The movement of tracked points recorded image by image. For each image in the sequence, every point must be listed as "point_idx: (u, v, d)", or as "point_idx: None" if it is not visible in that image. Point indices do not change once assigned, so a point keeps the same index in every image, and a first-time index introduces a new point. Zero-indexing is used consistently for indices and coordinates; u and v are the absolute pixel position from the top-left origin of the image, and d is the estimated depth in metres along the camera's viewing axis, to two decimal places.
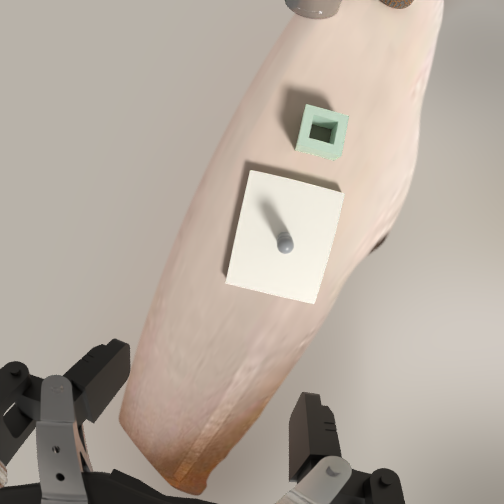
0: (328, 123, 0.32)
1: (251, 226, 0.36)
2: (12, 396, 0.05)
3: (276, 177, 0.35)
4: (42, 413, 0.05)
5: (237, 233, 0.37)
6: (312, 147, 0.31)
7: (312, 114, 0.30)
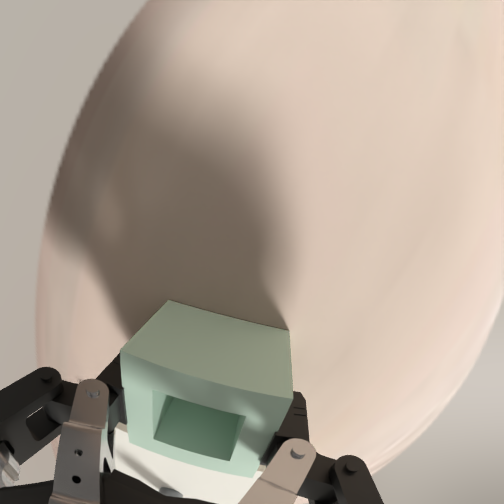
0: None
1: (118, 469, 0.14)
2: (39, 402, 0.05)
3: None
4: (72, 415, 0.06)
5: None
6: (169, 455, 0.09)
7: (148, 387, 0.08)
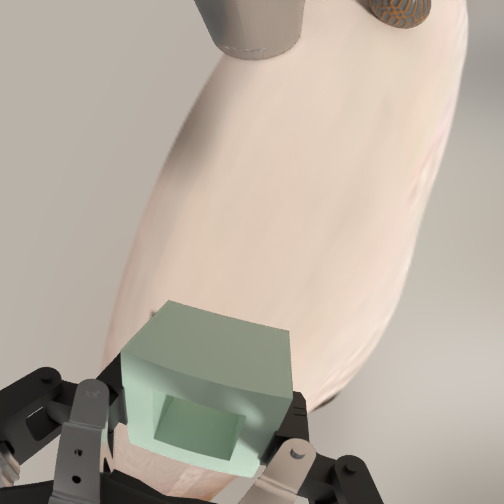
0: None
1: None
2: (39, 402, 0.05)
3: None
4: (72, 414, 0.06)
5: None
6: (169, 455, 0.09)
7: (148, 387, 0.08)
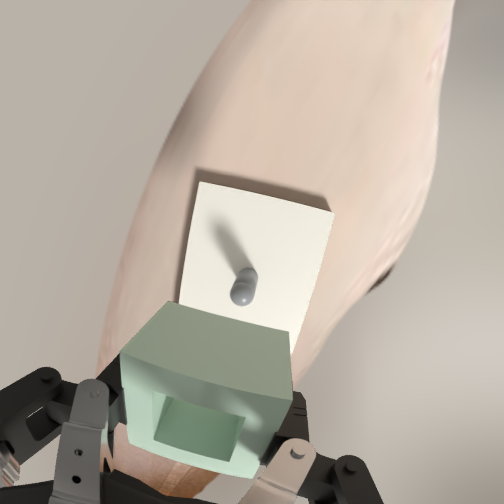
0: None
1: (203, 259, 0.26)
2: (39, 402, 0.05)
3: (235, 191, 0.25)
4: (72, 414, 0.06)
5: (185, 268, 0.27)
6: (168, 456, 0.09)
7: (148, 389, 0.08)
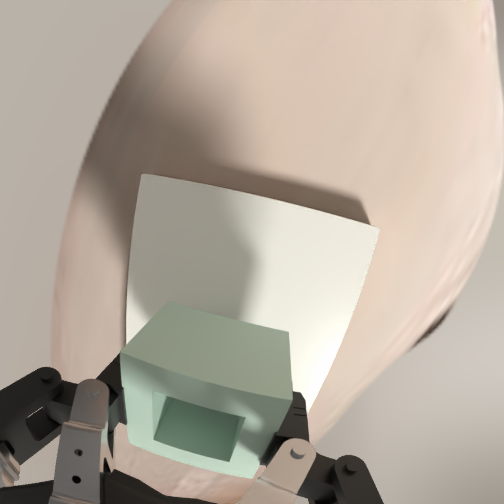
0: None
1: (153, 305, 0.15)
2: (39, 402, 0.05)
3: (201, 188, 0.13)
4: (72, 415, 0.06)
5: (129, 316, 0.15)
6: (169, 456, 0.09)
7: (148, 389, 0.08)
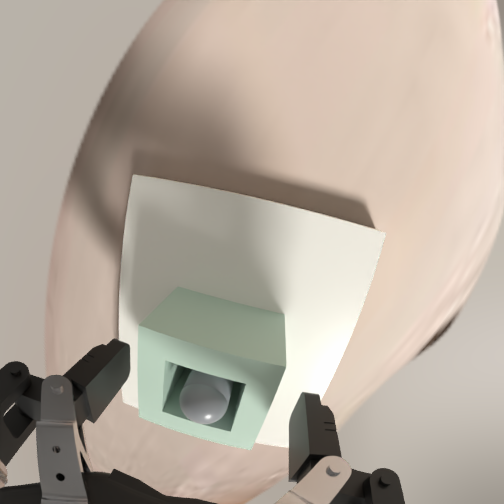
0: None
1: (145, 313, 0.14)
2: (12, 396, 0.05)
3: (195, 190, 0.12)
4: (42, 413, 0.05)
5: (121, 324, 0.14)
6: (175, 428, 0.10)
7: (161, 359, 0.09)
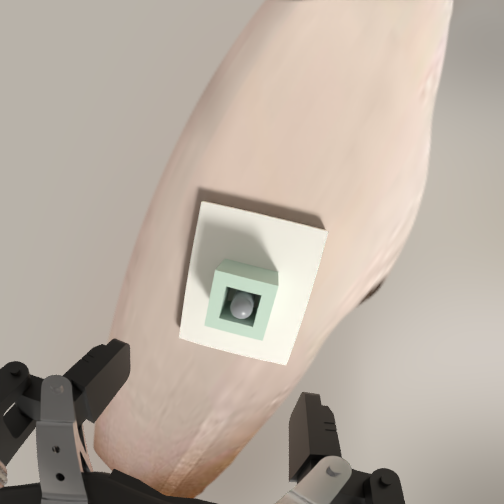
0: None
1: (205, 274, 0.28)
2: (12, 396, 0.05)
3: (235, 211, 0.27)
4: (42, 413, 0.05)
5: (188, 282, 0.29)
6: (224, 329, 0.24)
7: (224, 286, 0.24)
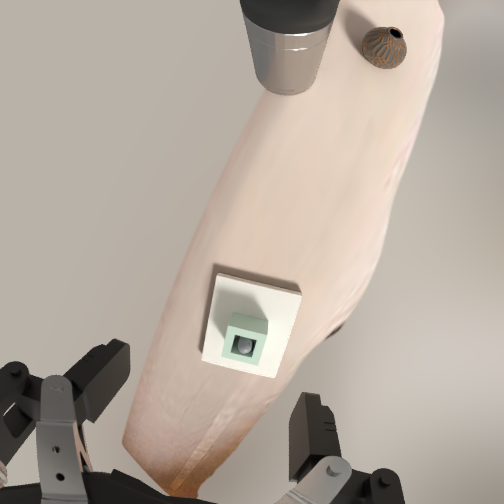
0: None
1: (219, 321, 0.42)
2: (12, 396, 0.05)
3: (240, 282, 0.40)
4: (42, 413, 0.05)
5: (208, 325, 0.42)
6: (233, 359, 0.38)
7: (233, 334, 0.37)
